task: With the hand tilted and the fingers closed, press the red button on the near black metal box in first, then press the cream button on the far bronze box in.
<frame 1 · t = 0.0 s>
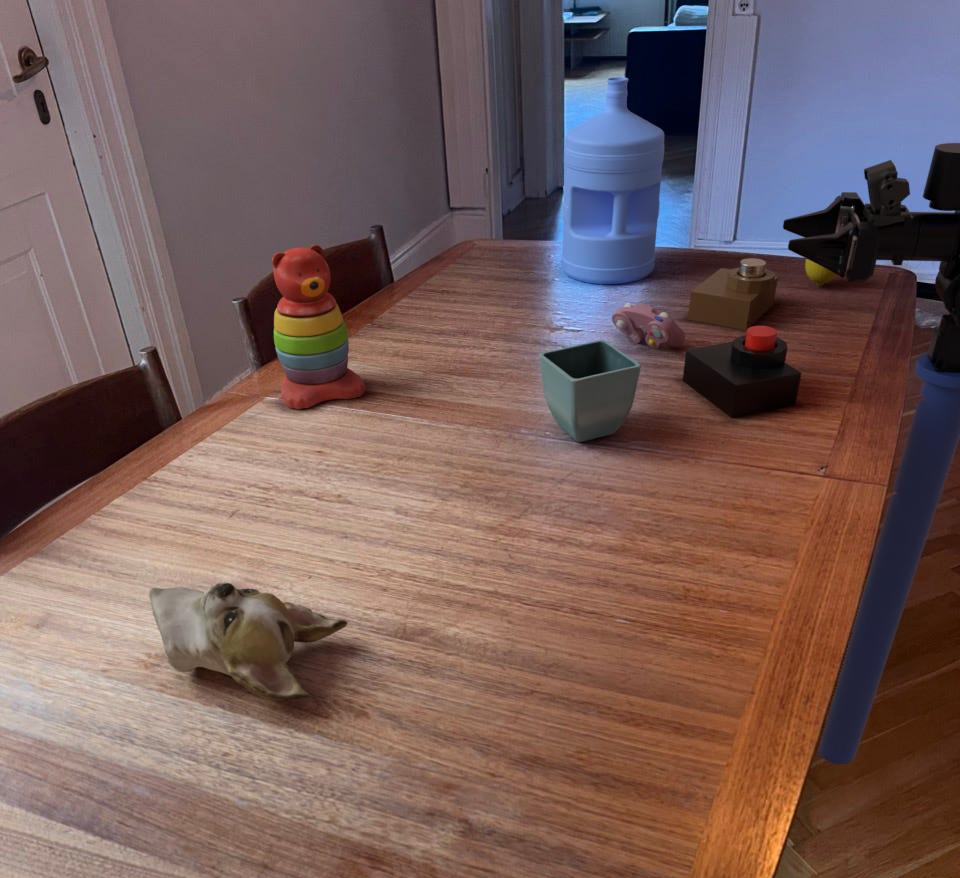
hand: (785, 234, 119), 15 cm above the table, tool horizontal, fingers open, 9 cm apart
video game controller: (646, 345, 130), on the table
red button: (760, 339, 113), point 7 cm above the table, slide at 0.1 cm
near box: (737, 392, 116), on the table
ceramic sculpture: (250, 668, 78), on the table
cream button: (752, 269, 133), point 7 cm above the table, slide at 0.1 cm
far box: (731, 312, 138), on the table
water jug: (607, 272, 155), on the table
lemon: (818, 287, 146), on the table
flower pot: (585, 432, 109), on the table
stacking bear: (319, 390, 121), on the table
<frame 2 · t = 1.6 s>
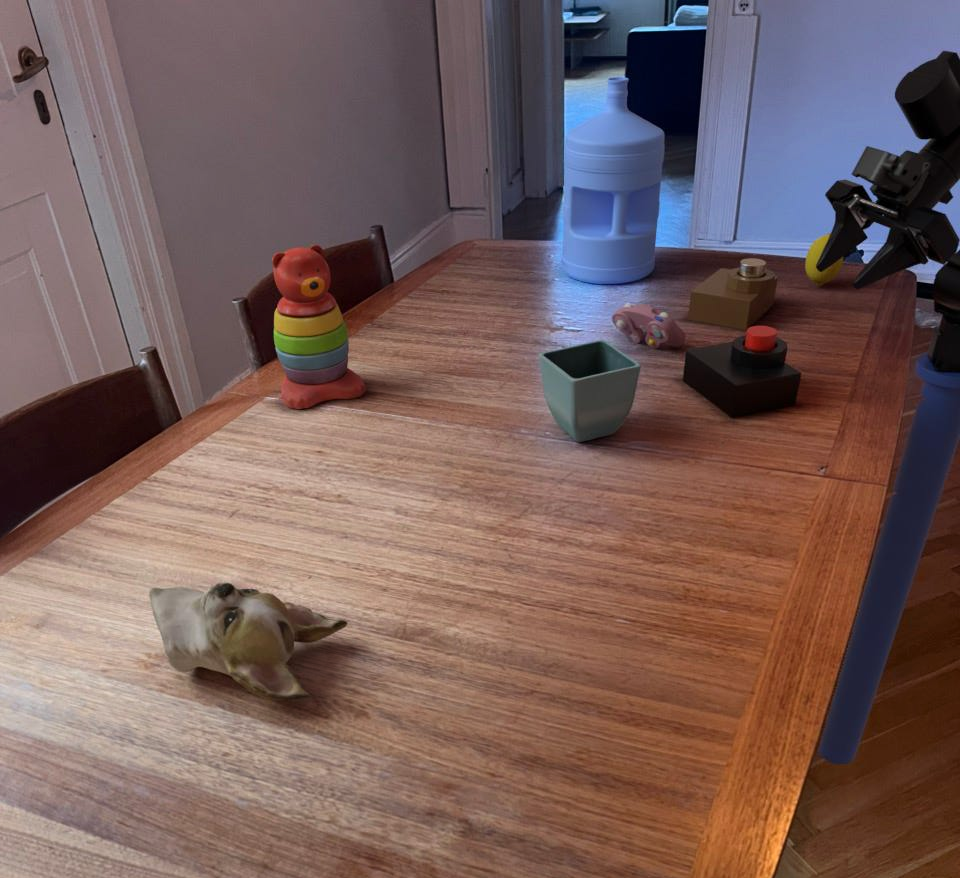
hand: (835, 278, 111), 13 cm above the table, tool tilted 45°, fingers open, 7 cm apart
nothing on the table moved.
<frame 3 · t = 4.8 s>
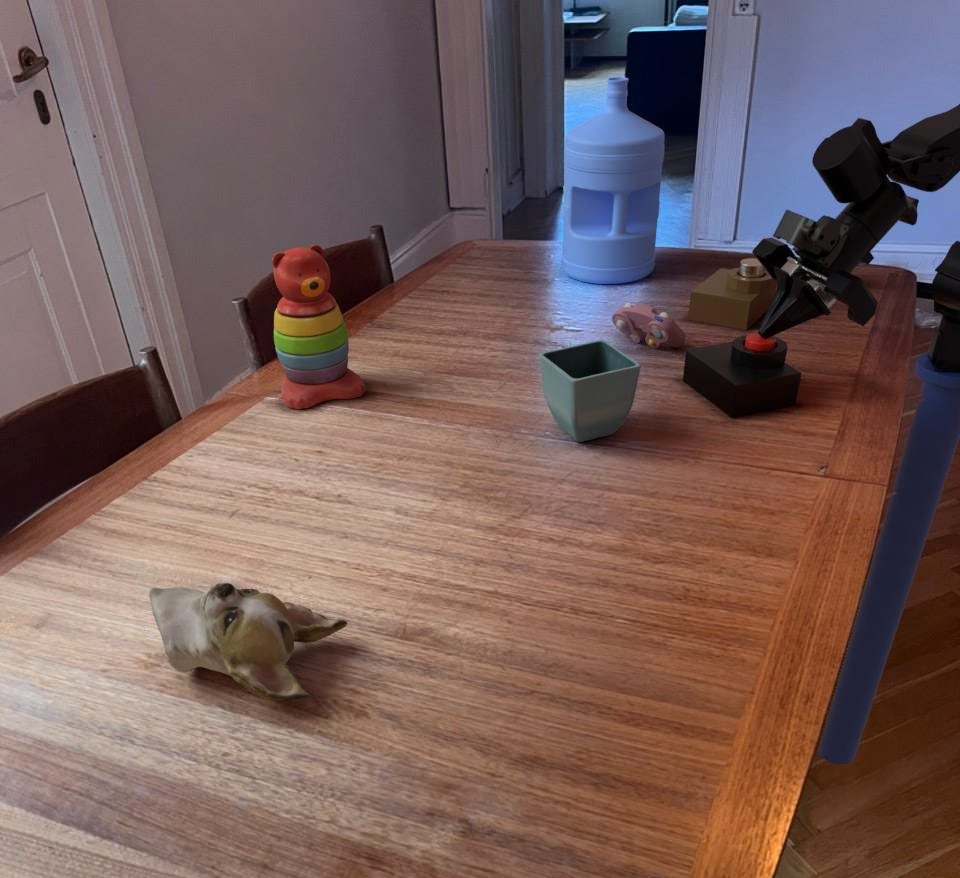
hand: (761, 336, 112), 7 cm above the table, tool tilted 45°, fingers closed, pressing on red button
red button: (759, 346, 113), point 6 cm above the table, slide at -0.9 cm, touching gripper
everything else where it was.
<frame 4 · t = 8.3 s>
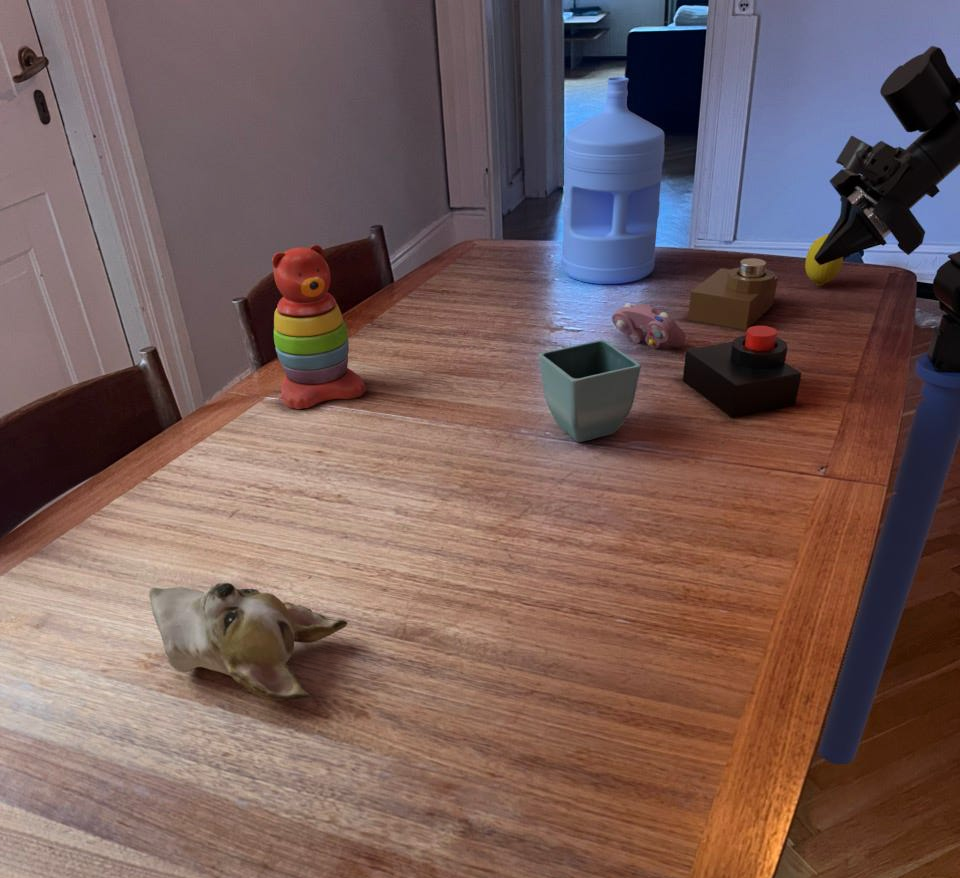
hand: (816, 261, 116), 13 cm above the table, tool tilted 45°, fingers closed
red button: (760, 339, 113), point 7 cm above the table, slide at 0.1 cm
everything else where it was.
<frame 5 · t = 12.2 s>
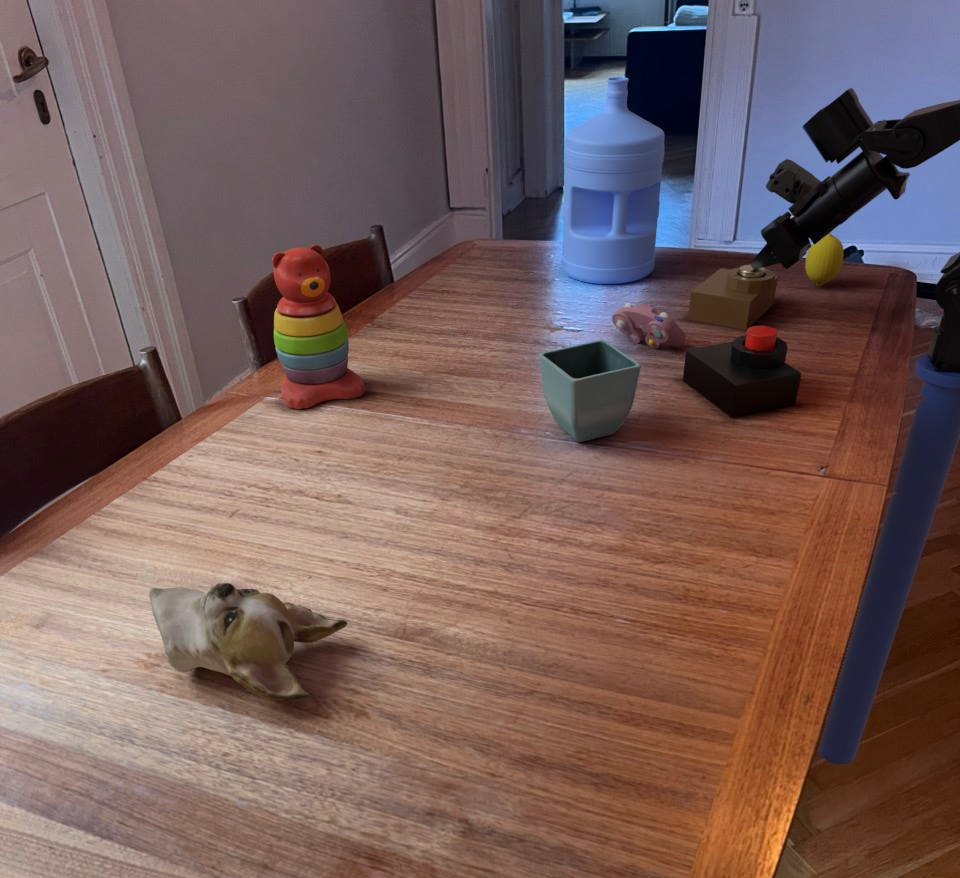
hand: (752, 266, 133), 7 cm above the table, tool tilted 45°, fingers closed, pressing on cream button
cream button: (751, 275, 134), point 6 cm above the table, slide at -0.8 cm, touching gripper
everything else where it was.
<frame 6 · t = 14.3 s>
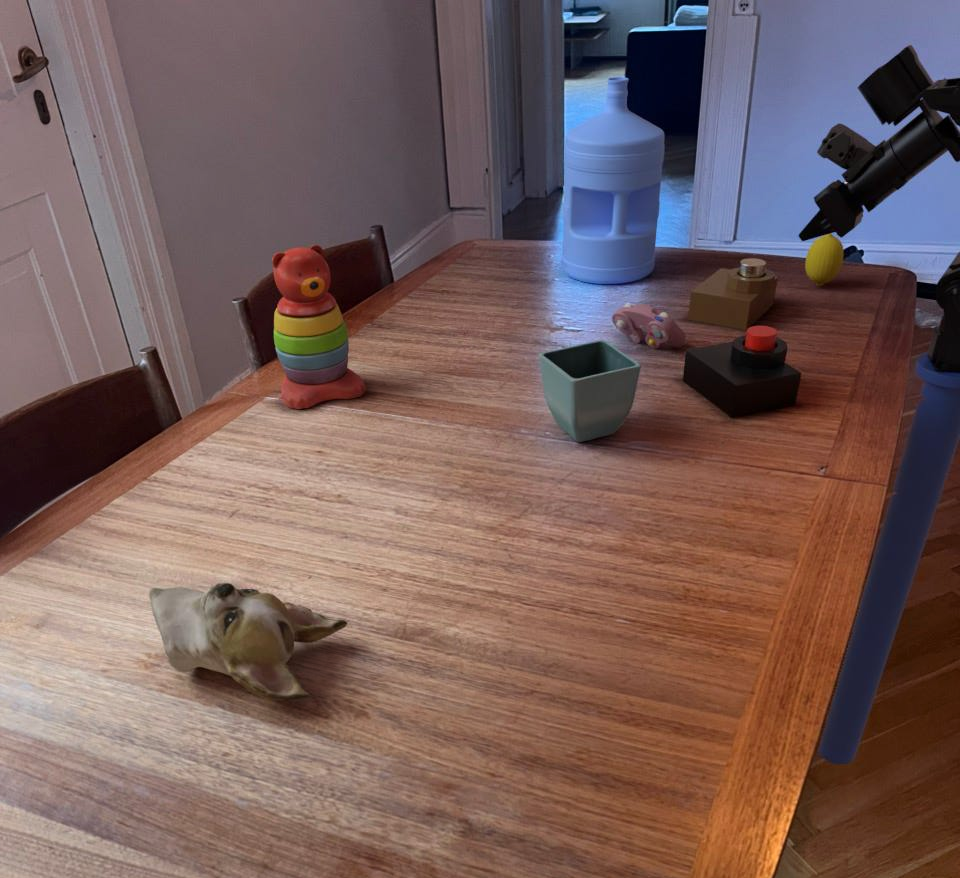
hand: (800, 237, 127), 12 cm above the table, tool tilted 45°, fingers closed
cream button: (752, 269, 133), point 7 cm above the table, slide at 0.1 cm
everything else where it was.
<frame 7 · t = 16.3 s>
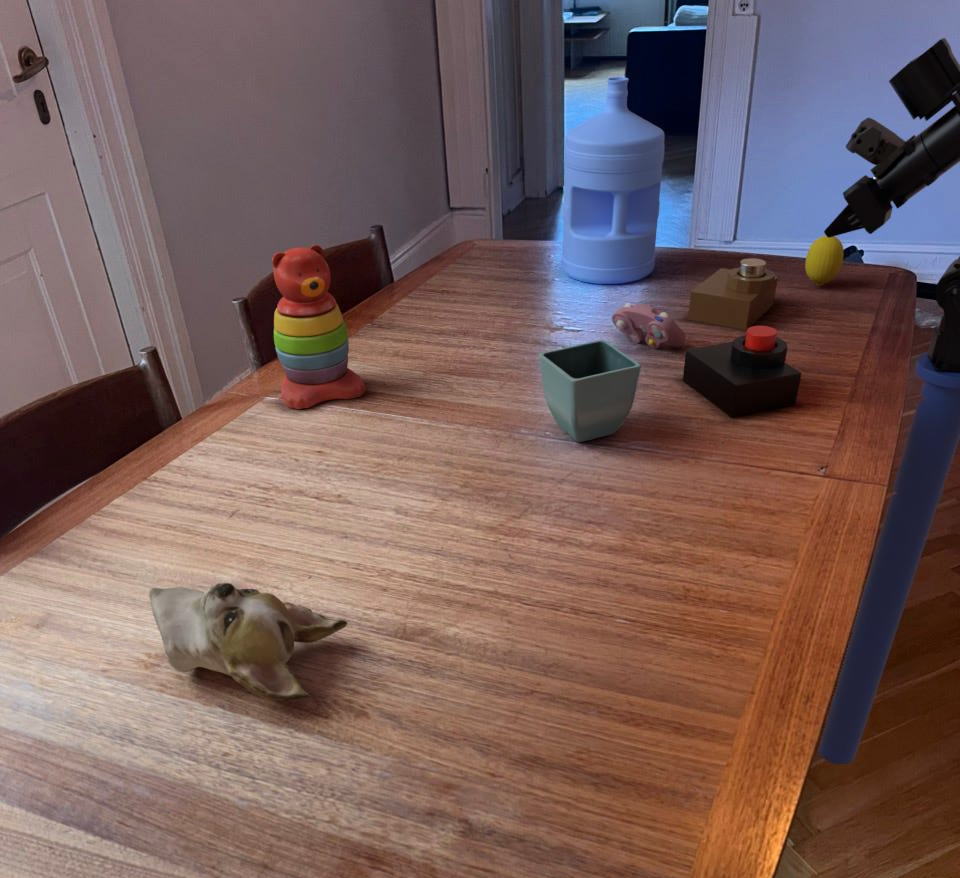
hand: (826, 234, 125), 13 cm above the table, tool tilted 45°, fingers closed
nothing on the table moved.
at the end: red button pushed in 1.1 cm at the most during the clip, back to where it started at the end; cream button pushed in 1.1 cm at the most during the clip, back to where it started at the end; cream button slide at 0.1 cm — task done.
